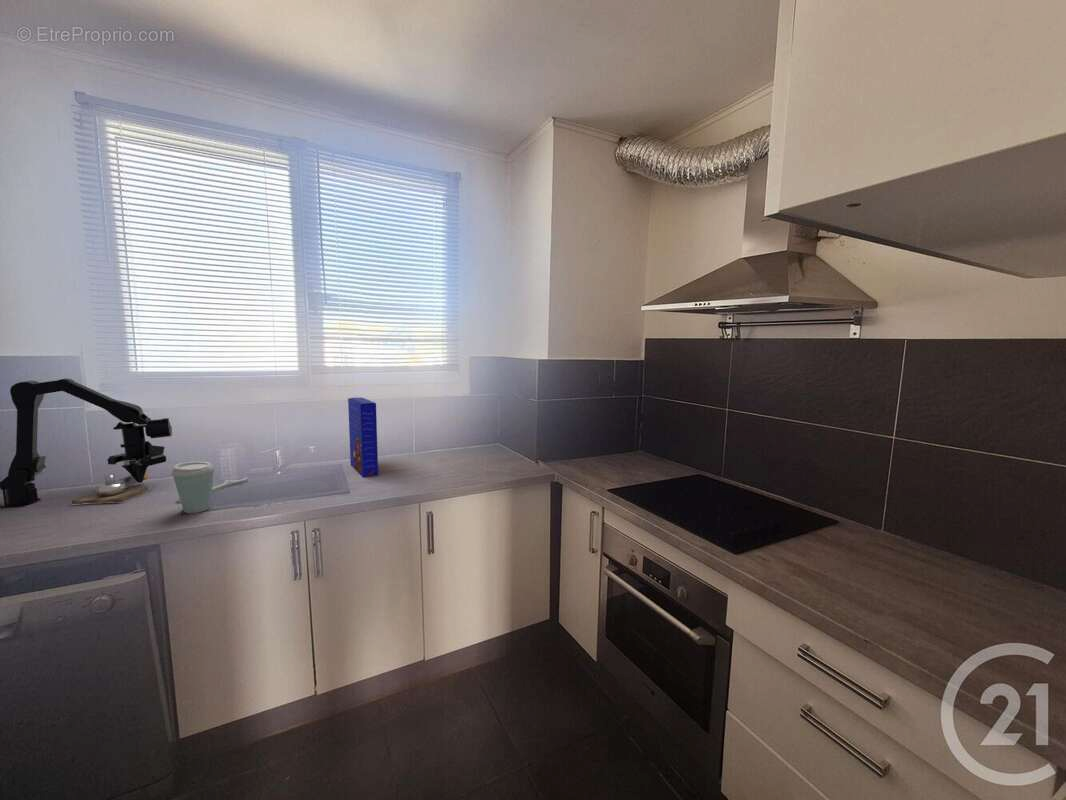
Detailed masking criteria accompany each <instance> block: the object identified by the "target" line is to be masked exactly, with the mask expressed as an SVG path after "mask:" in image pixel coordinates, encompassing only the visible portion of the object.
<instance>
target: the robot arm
mask: <svg viewBox="0 0 1066 800" xmlns="http://www.w3.org/2000/svg"><path fill="white" fill-rule="evenodd" d="M9 392H10V397H11V400H12V403H13V405H14V406H15V409H16V436H15V437H16V439H15V441H16V442H15V443H16V444H15V455H14V457H13V458H12V460H11V462H10V466H9V468H8V472H7V476H5V478H3V479H1V481H0V490H1V491H2V496H3V504H0V508H14V507H15V506H17V507H25V506H28V505H30V504H32V502H33V503H35V501H36V502H38V500H39V501H41V500H42V497H39V496H38V489H37V487H36V485H35V482H34V481H35V479H36V477H38V476H39V475H40V474H41V473H43V470H44V469H45V468H47V465H46V464H45V461H46V457H47V456H46V455H43V456H40V455H39V453H38V450H37V449H38V424H39V421H38V420H39V409H40V408H39V407H40V406H41V404H42V403H43V400H44V397H45V394H52V393H53V394H54V393H59V392H64V393H66V394H68V395H71V396H73V397H76V398H78V399H80V400H82V401H84V402H87V403H89V404H92V405H94V406H96V407H99V408H101V409H104V410H105V411H107V412H108V413H109V414H111V416H112V417H115V418H116V419H118V420H119V422H118V423H117V424H116V426H113V428H112V429H113V430H115V431H116V430H117V431H118V430H121V436H122V442H123V443H121V444H120V448H122V449H123V448H124V452H123V453H119V454H114V455H110V456H109V457H108V458H107V465H113V466H114V465H116V464H117V463H120V462H121V463H122V462H123V465H121V467H122V468H124V469H125V471H127V472H128V473H129V474H130V475H132V476H133V477H134V479H135V480H136V481H137V482H138V484H141V483H143V481H144V480H143V479H144V475H145V472H146V471H147V469H148V467H151V466H154V465H159V464H161V463H165V462H167V455H164V452H165V446H163V445H162V446H161V445H153V444H152V443H151V442H150V441H149V440H146V437H149V438H150V439H159V438H168V437H172V435H173V430H172V429H173V428H172V424H171V422H170V419H169V417H164V418H160V419H151V418H150V417H149V416H148V415H146V414H145V413H144V411H143V408H142V407H141V406H140V405H137V404H134V403H131V402H127V401H122V400H117V399H115V398H112V397H110V396H108V395H106V394H103V393H101V392H99V391H96V390H94V389H92V388H90V387H87V386H85V385H83V384H81V383H79V382H76V381H75V380H74V379H72V378H66V377H65V378H60V379H58V380H50V381H44V382H40V381H38V380H37V381H36V380H26V381H20V382H17V383H15V384H13V385H11V386H10V389H9ZM40 499H41V500H40ZM27 504H28V505H27ZM24 505H25V506H24Z"/></svg>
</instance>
